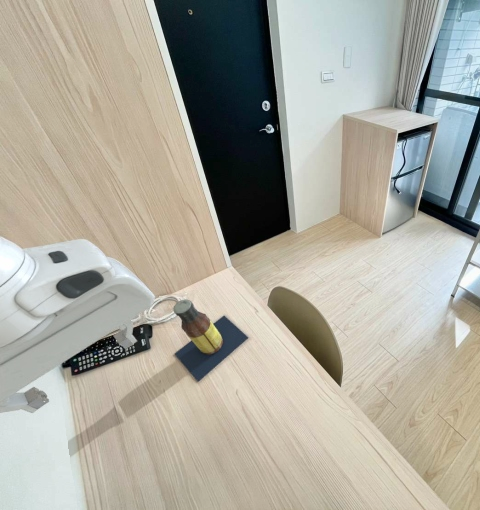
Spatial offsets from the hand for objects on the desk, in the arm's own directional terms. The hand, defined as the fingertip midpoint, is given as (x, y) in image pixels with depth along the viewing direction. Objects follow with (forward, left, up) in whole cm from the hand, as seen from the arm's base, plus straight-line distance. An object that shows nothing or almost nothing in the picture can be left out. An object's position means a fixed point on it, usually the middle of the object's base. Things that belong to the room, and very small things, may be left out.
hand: (88, 370), depth 33 cm
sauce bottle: (+15, +19, -39) cm, 46 cm away
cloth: (+15, +19, -39) cm, 46 cm away
